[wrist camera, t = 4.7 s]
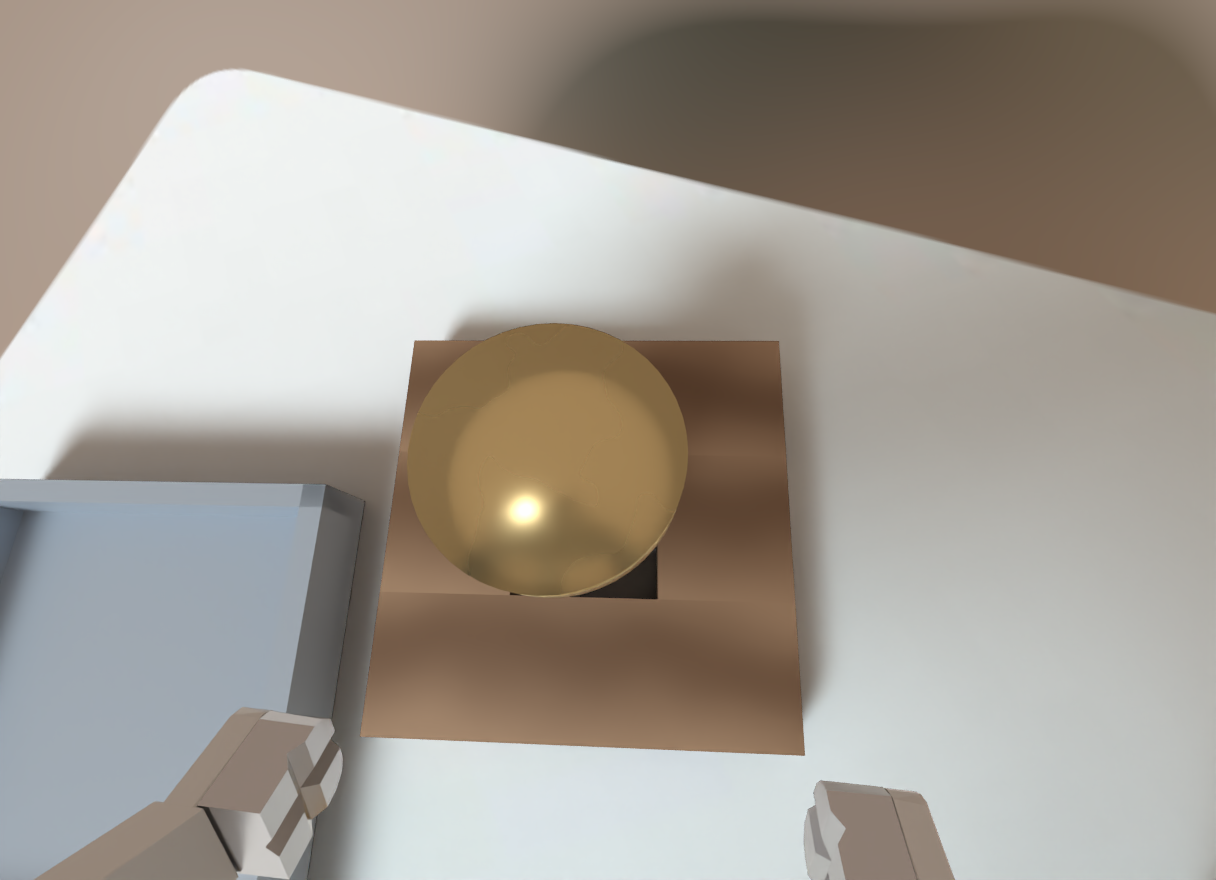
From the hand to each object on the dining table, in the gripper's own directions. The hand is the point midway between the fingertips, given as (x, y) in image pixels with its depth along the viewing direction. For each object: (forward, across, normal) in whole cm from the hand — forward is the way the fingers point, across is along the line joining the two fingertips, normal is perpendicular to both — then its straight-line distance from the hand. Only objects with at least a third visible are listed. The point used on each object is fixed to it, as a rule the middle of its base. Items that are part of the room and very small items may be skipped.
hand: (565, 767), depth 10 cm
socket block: (+12, +1, +4) cm, 13 cm away
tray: (+6, +17, +10) cm, 20 cm away
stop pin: (+12, +1, +4) cm, 13 cm away
